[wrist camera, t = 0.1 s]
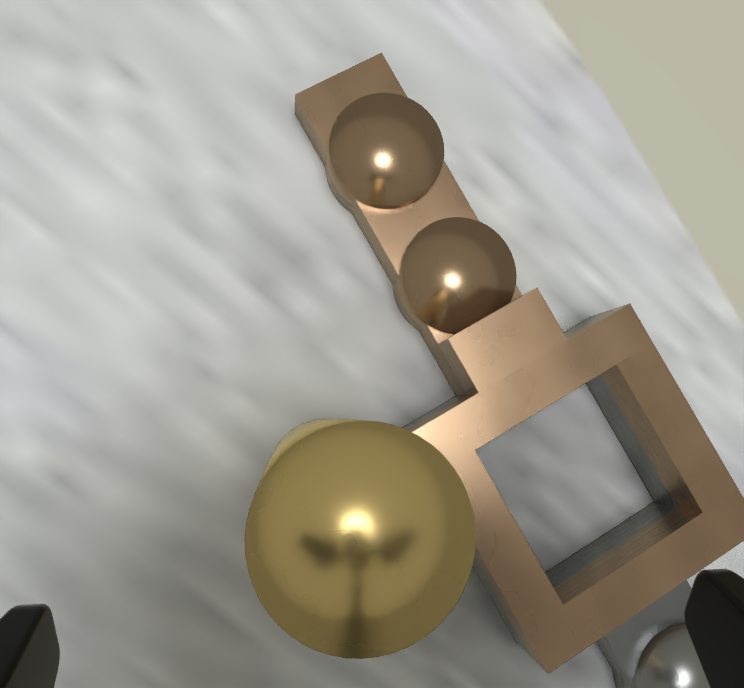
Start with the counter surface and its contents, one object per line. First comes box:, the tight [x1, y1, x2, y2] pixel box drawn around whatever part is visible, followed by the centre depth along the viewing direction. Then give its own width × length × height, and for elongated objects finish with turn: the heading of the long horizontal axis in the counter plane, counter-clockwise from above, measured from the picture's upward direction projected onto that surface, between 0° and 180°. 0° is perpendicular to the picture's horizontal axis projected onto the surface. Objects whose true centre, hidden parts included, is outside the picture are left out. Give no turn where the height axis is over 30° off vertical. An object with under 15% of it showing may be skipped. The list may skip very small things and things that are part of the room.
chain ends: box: [295, 53, 744, 688], centre depth 24 cm, size 33×9×3 cm, turn 30°
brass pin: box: [245, 419, 476, 659], centre depth 18 cm, size 4×4×12 cm
